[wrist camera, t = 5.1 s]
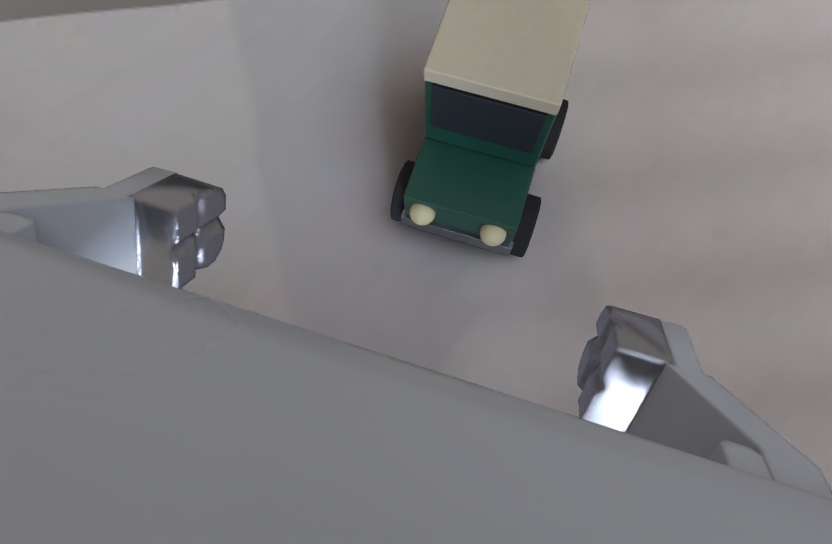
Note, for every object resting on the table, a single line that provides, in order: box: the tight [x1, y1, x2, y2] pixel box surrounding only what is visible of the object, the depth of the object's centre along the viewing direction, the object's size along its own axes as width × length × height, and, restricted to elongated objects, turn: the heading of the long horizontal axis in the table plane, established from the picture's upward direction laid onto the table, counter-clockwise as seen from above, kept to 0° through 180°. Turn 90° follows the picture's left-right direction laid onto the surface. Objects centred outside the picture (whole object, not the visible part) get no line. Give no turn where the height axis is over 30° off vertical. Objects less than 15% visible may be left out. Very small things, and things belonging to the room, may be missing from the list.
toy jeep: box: [391, 0, 591, 257], centre depth 21 cm, size 8×6×8 cm
